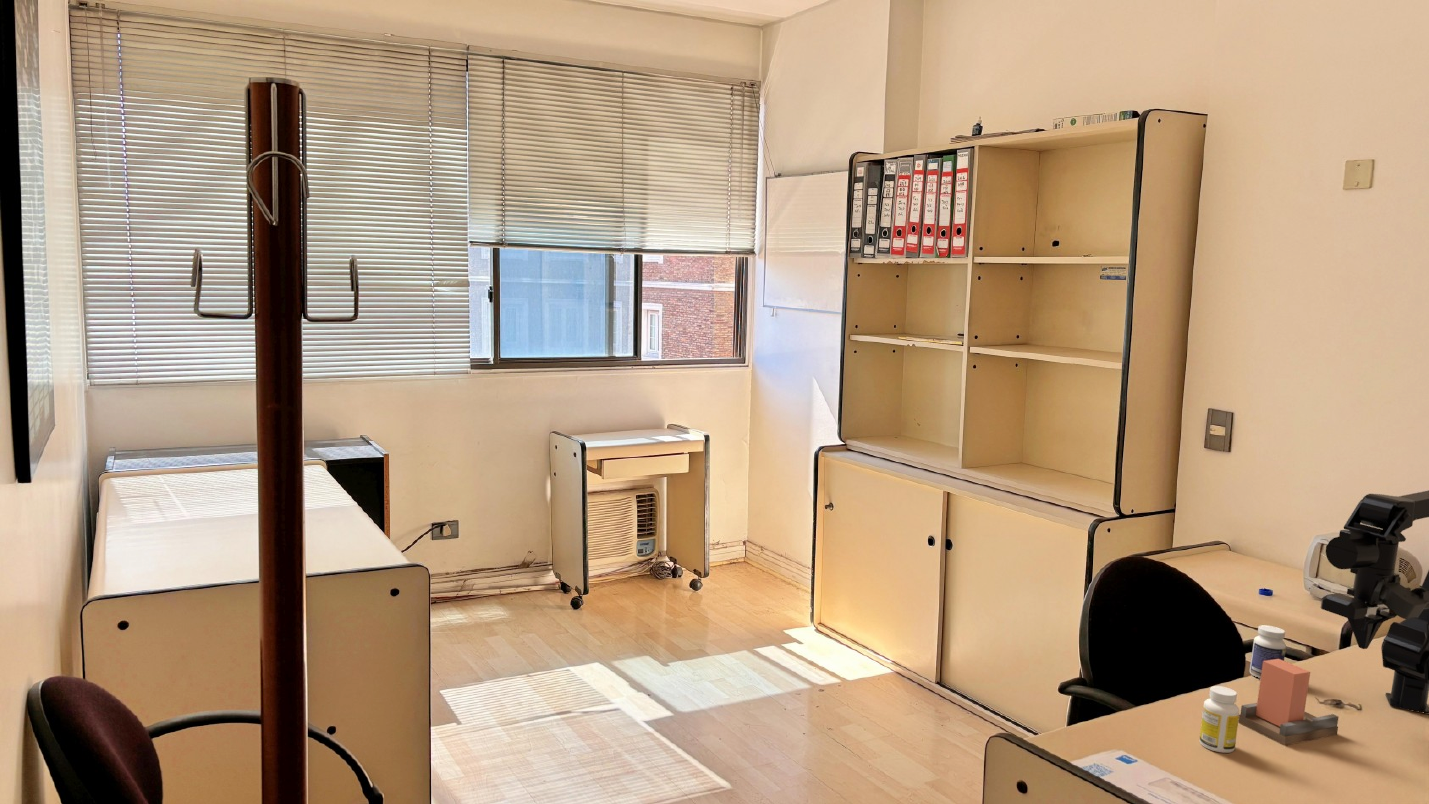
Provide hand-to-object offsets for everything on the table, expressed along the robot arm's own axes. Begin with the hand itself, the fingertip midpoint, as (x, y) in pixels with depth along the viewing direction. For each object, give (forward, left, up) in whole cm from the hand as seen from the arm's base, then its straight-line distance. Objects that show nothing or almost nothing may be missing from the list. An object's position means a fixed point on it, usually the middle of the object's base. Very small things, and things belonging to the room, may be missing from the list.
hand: (1362, 648), depth 184 cm
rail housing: (+14, -11, -13) cm, 22 cm away
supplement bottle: (+29, -23, -13) cm, 39 cm away
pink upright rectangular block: (+16, -13, -11) cm, 23 cm away
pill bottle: (-12, -14, -13) cm, 23 cm away
